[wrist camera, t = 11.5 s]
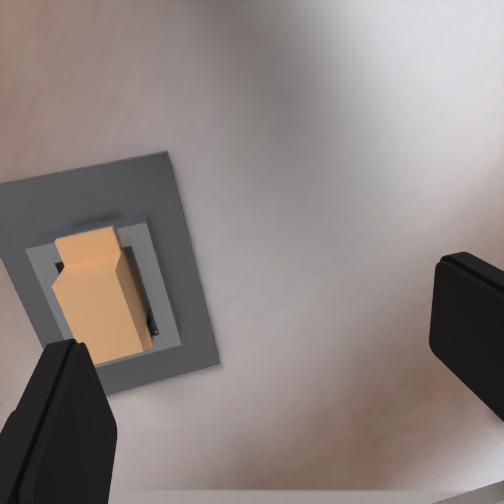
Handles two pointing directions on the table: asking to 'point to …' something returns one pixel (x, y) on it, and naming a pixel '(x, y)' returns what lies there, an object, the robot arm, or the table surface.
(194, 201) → the table surface
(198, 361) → the pocket plate
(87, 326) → the tabbed block
